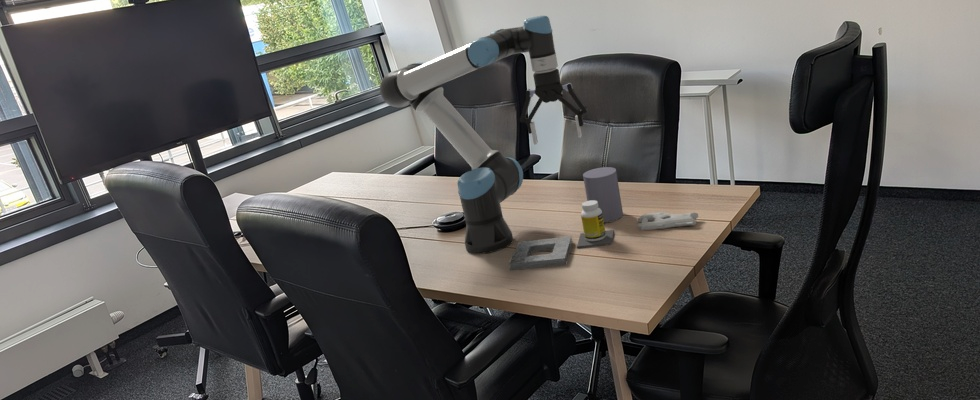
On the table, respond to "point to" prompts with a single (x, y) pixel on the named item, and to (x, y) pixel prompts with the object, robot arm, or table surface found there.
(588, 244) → the rubber mat
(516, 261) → the housing plate
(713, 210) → the table surface
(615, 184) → the container
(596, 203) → the pill bottle
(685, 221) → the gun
